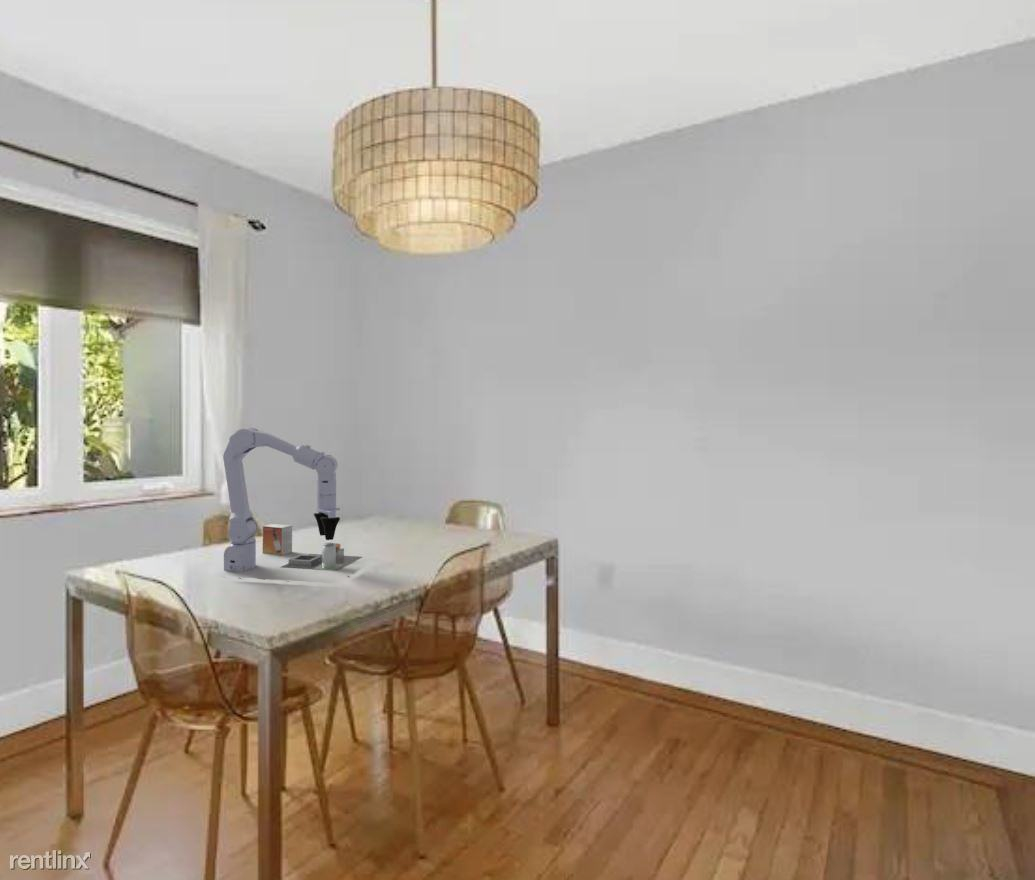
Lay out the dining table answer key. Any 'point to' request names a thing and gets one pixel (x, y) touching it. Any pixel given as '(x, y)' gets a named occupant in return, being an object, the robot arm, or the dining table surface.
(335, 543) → the plunger
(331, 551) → the cylinder
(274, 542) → the small box
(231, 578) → the dining table surface
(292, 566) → the housing
